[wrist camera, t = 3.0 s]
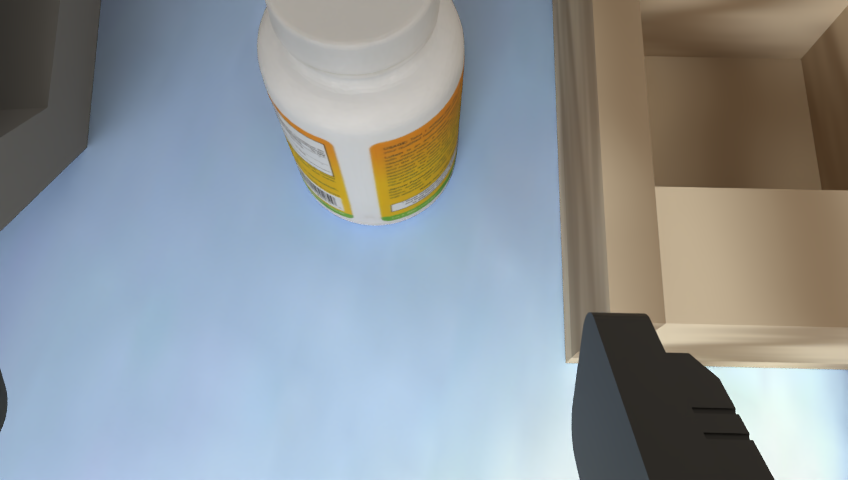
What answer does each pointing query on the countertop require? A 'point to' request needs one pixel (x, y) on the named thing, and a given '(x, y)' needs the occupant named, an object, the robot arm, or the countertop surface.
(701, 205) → the post socket
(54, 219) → the countertop surface
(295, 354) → the countertop surface
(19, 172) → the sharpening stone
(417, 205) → the supplement bottle
